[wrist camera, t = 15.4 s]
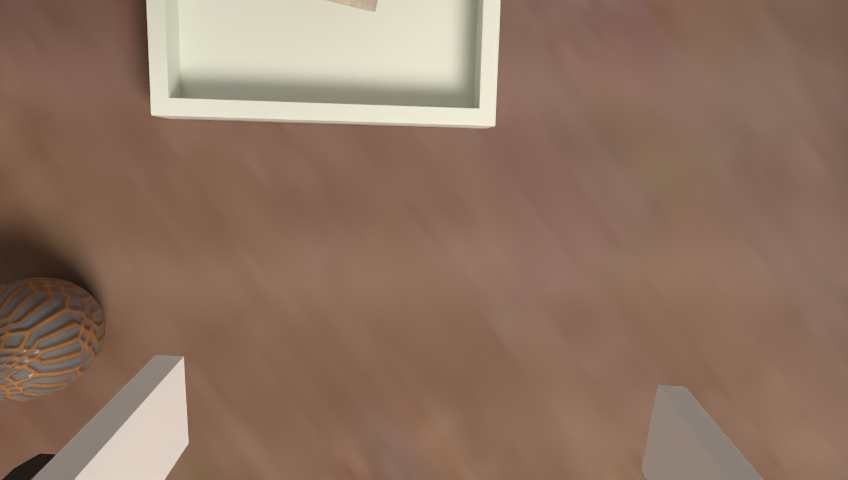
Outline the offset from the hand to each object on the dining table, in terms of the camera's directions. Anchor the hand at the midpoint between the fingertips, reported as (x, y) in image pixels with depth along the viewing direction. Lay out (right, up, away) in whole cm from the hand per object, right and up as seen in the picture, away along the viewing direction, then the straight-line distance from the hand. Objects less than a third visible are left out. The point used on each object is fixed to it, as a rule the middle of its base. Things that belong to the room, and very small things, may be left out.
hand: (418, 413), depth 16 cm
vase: (-23, 0, +21) cm, 31 cm away
